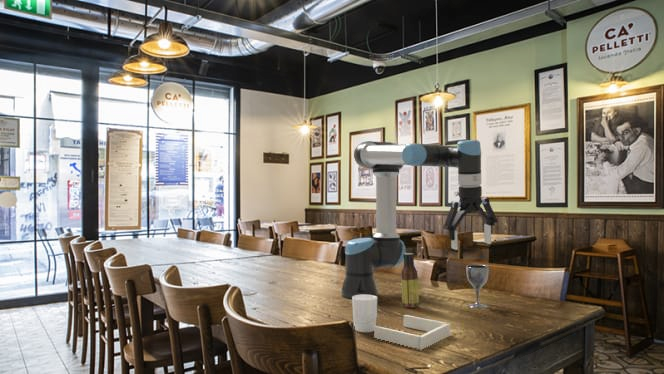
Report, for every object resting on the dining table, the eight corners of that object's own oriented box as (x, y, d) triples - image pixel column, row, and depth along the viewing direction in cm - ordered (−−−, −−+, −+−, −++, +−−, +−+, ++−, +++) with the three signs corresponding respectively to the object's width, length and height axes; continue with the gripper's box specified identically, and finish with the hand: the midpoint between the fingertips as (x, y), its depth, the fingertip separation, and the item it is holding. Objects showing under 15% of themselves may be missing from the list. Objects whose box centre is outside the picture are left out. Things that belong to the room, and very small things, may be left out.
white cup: (376, 334, 135) (376, 300, 135) (350, 332, 136) (350, 299, 137) (378, 326, 143) (378, 294, 143) (354, 325, 144) (354, 293, 144)
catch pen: (374, 338, 130) (374, 326, 130) (405, 325, 143) (405, 314, 143) (421, 350, 120) (421, 337, 120) (450, 335, 133) (450, 323, 133)
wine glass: (463, 303, 172) (463, 264, 172) (483, 303, 173) (483, 264, 173) (471, 309, 164) (471, 268, 164) (492, 308, 165) (492, 267, 165)
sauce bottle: (420, 305, 169) (420, 252, 170) (416, 309, 164) (416, 254, 164) (403, 303, 172) (403, 252, 172) (399, 307, 166) (399, 253, 167)
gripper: (444, 190, 145) (446, 254, 148) (507, 182, 153) (508, 243, 156) (432, 188, 153) (434, 248, 155) (493, 180, 160) (494, 238, 163)
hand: (471, 246), depth 156 cm, fingers open, 13 cm apart
